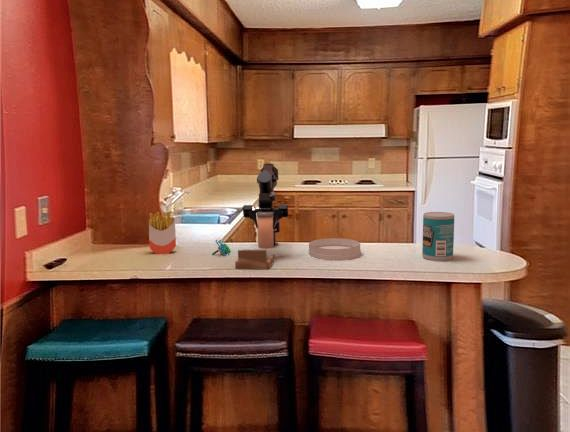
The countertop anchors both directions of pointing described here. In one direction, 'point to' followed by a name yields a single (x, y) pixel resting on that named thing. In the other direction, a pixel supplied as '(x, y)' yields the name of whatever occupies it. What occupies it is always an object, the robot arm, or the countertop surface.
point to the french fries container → (162, 233)
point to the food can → (438, 236)
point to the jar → (265, 229)
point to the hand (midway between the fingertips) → (265, 227)
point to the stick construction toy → (222, 248)
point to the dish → (334, 249)
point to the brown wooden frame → (253, 259)
